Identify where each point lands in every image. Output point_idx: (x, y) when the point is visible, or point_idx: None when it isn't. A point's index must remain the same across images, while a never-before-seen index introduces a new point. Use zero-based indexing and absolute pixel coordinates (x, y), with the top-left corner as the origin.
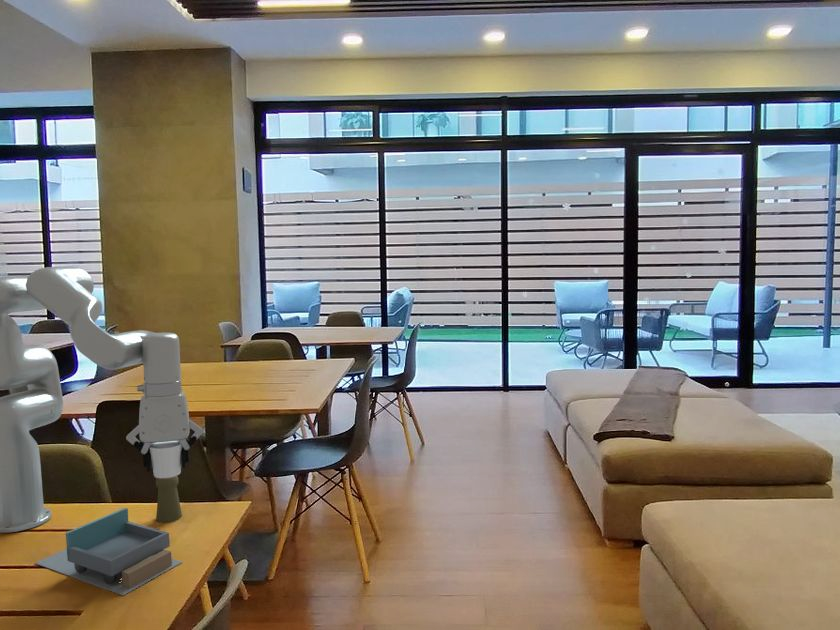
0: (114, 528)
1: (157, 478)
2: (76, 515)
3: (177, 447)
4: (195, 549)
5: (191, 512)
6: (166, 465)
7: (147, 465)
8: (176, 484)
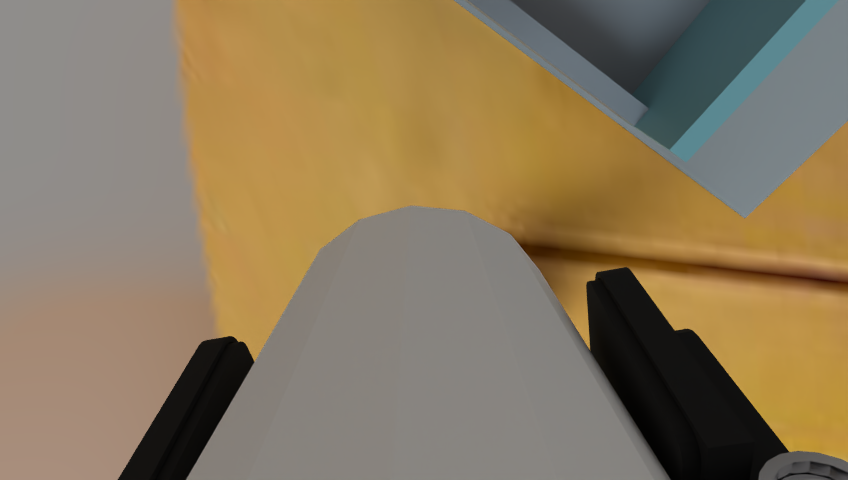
0: (699, 45)
1: None
2: (829, 389)
3: None
4: (278, 31)
5: None
6: (373, 279)
7: (645, 307)
8: None
